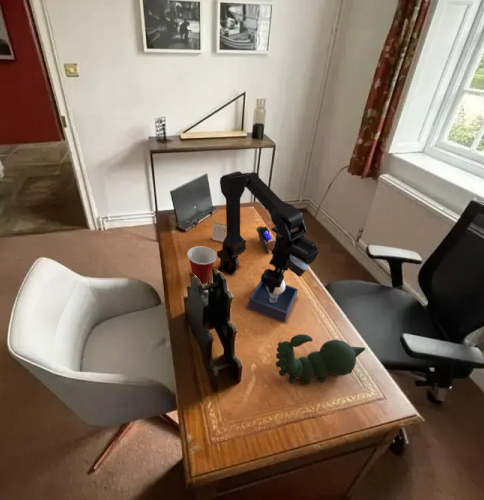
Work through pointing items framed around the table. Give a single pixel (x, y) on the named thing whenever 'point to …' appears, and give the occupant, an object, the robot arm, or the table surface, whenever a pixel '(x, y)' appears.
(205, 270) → the plastic cup
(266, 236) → the character figurine
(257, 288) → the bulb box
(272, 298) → the lightbulb
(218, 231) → the ink cartridge box
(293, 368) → the toy figurine
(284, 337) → the table surface
